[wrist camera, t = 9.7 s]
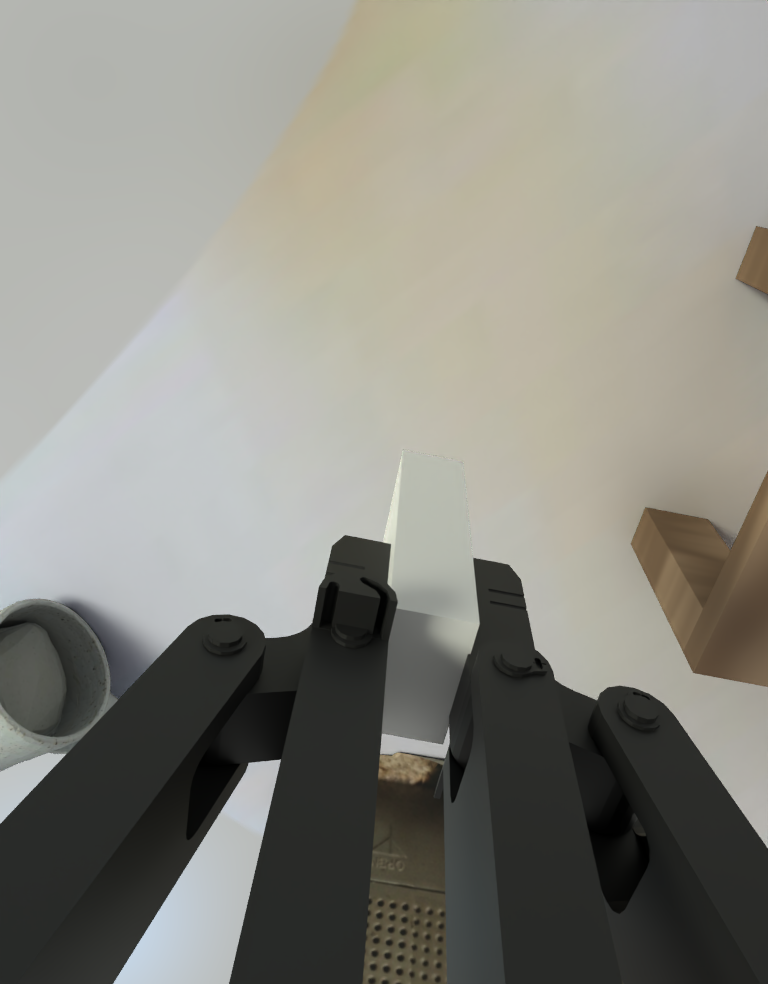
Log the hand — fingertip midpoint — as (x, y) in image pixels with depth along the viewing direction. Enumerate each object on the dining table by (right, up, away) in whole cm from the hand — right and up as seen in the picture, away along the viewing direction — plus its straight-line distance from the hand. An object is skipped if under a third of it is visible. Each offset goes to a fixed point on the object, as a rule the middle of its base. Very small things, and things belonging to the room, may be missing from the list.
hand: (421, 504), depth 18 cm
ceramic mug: (-19, -9, +22) cm, 30 cm away
